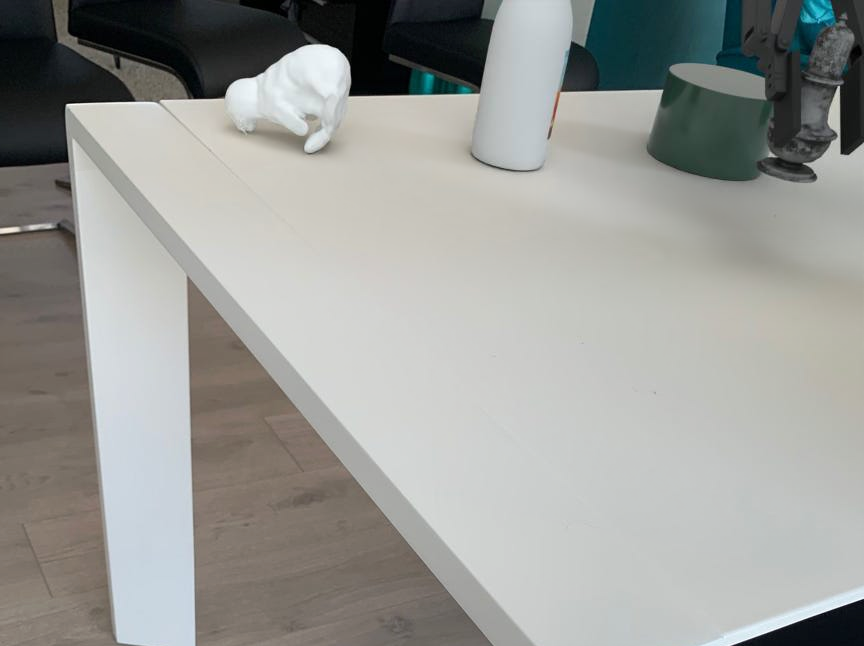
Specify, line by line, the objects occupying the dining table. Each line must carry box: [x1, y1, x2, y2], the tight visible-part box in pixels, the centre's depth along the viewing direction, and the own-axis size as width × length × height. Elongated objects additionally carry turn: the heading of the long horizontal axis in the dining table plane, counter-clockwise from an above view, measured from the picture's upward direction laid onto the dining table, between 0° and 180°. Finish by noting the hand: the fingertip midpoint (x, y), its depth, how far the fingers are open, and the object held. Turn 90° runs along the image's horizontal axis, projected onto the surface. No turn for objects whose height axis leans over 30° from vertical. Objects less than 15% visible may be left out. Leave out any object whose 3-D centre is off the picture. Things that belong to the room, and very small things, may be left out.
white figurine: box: [224, 44, 352, 154], centre depth 96 cm, size 6×8×12 cm
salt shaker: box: [755, 12, 855, 184], centre depth 84 cm, size 6×6×12 cm
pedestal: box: [646, 62, 774, 181], centre depth 111 cm, size 13×13×8 cm
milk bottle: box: [470, 0, 574, 171], centre depth 97 cm, size 8×8×20 cm
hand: (821, 142), depth 82 cm, fingers closed on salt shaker, 5 cm apart
